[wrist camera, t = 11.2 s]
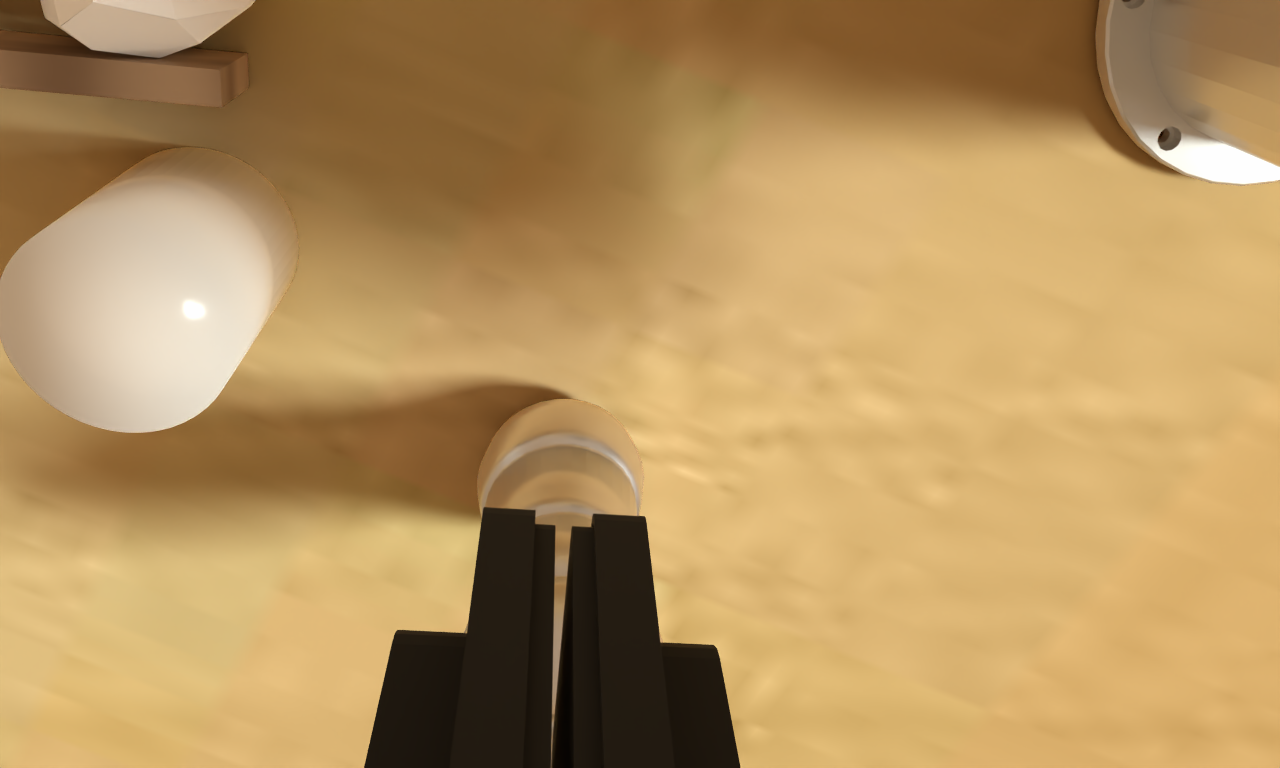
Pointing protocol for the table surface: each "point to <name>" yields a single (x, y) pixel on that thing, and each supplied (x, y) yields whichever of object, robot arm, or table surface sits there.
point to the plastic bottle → (562, 478)
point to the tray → (120, 71)
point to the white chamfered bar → (142, 23)
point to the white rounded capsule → (149, 290)
